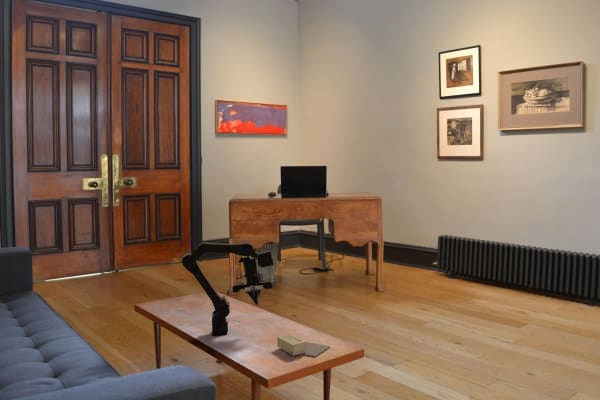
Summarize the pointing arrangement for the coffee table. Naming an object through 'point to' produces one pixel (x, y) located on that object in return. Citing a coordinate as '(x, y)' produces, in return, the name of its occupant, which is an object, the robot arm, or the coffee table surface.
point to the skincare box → (291, 344)
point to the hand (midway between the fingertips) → (257, 304)
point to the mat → (314, 349)
